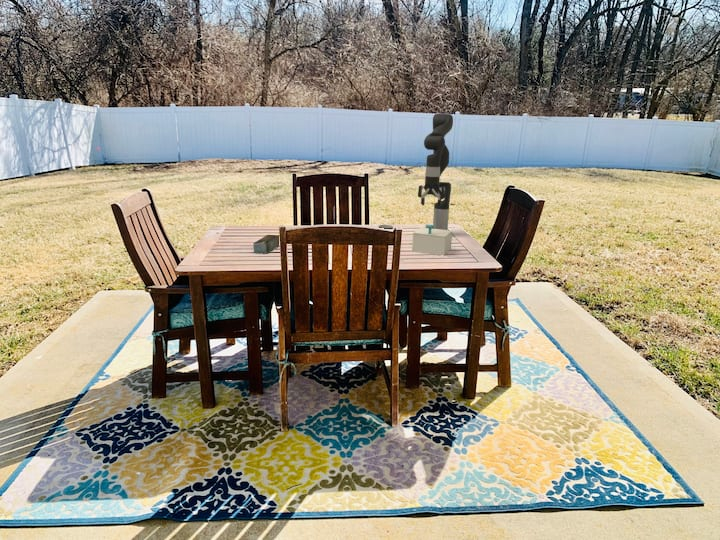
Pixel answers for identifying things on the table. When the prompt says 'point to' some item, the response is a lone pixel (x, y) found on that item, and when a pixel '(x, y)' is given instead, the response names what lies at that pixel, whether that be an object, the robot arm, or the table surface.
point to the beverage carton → (266, 244)
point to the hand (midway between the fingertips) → (430, 205)
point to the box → (431, 244)
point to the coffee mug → (386, 226)
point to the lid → (432, 231)
